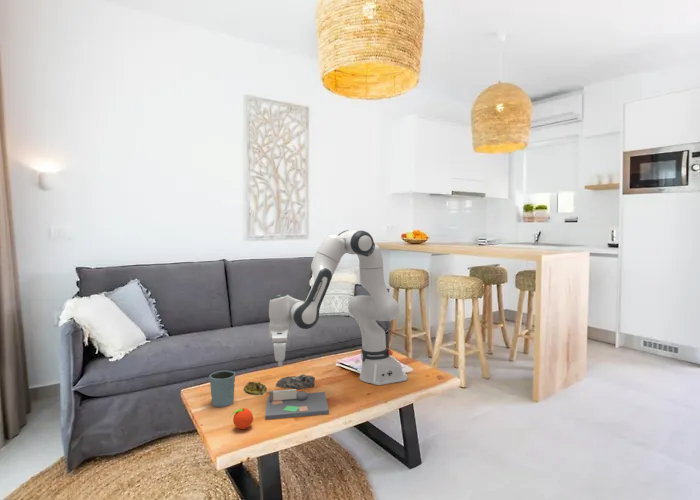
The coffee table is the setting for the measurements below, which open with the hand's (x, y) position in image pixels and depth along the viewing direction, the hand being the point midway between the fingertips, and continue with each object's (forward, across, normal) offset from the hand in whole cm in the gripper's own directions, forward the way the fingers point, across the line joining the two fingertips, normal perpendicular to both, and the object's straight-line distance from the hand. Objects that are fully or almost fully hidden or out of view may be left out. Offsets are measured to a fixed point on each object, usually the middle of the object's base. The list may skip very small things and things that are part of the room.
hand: (280, 365), depth 172 cm
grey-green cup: (+15, -1, -24) cm, 28 cm away
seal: (+15, -12, -11) cm, 22 cm away
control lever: (+12, +6, +3) cm, 14 cm away
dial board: (+14, +10, +6) cm, 18 cm away
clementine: (+15, +24, -14) cm, 31 cm away
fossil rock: (+14, -15, +7) cm, 22 cm away
